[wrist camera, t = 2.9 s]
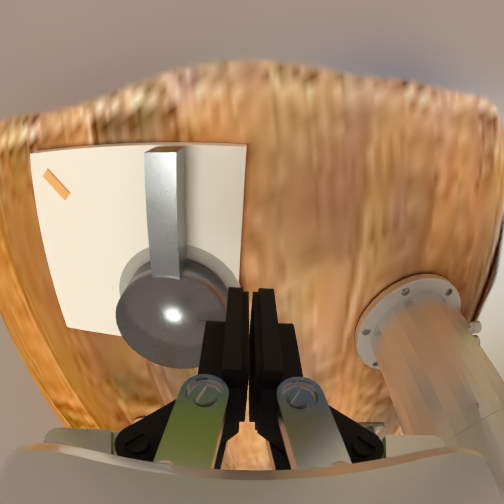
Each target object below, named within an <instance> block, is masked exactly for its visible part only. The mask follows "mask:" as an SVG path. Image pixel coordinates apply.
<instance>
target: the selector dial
mask: <svg viewBox="0 0 504 504" xmlns="http://www.w3.org/2000/svg"><path fill="white" fill-rule="evenodd" d="M144 169H145V195H146V213H147V227H148V240H149V251H150V261H149V262H147V263H145V264H144V265H142V266H141V267H140V268H139V269H138V270H137V271H136V272H135V274H134V275H133V277H132V279H131V280H130V282H129V284H128V285H127V287H126V289H125V291H124V292H123V294H122V296H121V297H120V299H119V301H118V304H117V306H116V323H117V326H118V329H119V331H120V333H121V335H122V337H123V338H124V340H125V341H126V342H127V344H128V345H129V346H130V347H131V348H132V349H133V350H135V351H136V352H137V353H138V354H140V355H141V356H143V357H144V358H146V359H148V360H150V361H152V362H154V363H156V364H159V365H162V366H166V367H171V368H179V369H189V368H196V367H199V363H200V356H201V349H202V343H203V336H204V330H205V324H206V320H211V321H226V311H227V299H228V289H227V288H226V286H225V284H224V283H223V281H222V280H221V279H220V278H219V277H218V276H217V274H215V273H214V272H213V271H212V270H211V269H209V268H208V267H206V266H205V265H203V264H201V263H199V262H196V261H194V260H191V259H187V256H186V221H185V146H157V147H154V148H152V149H150V150H148V151H146V152H144Z"/></svg>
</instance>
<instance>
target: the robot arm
mask: <svg viewBox="0 0 504 504" xmlns="http://www.w3.org/2000/svg"><path fill="white" fill-rule="evenodd" d="M460 312H461V299H460V295H459V293H458V291H457V289H456V288H455V287H454V285H453V284H452V283H451V282H450V281H449V280H447V279H446V278H444V277H443V276H439V275H436V274H420V275H414V276H411V277H408V278H405V279H403V280H401V281H399V282H397V283H395V284H393V285H391V286H390V287H389V288H387V289H386V290H384V291H383V292H382V293H381V294H379V295H378V296H377V297H376V298H375V299H374V300H373V301H372V302H371V303H370V305H369V306H368V307H367V308H366V309H365V311H364V313H363V314H362V316H361V318H360V319H359V322H358V324H357V327H356V331H355V337H354V339H355V347H356V350H357V353H358V355H359V357H360V359H361V360H362V361H363V362H364V363H365V364H366V365H367V366H369V367H371V368H373V369H377V370H381V373H382V376H383V378H384V381H385V383H386V386H387V389H388V391H389V394H390V397H391V400H392V402H393V405H394V408H395V411H396V414H397V416H398V419H399V422H400V425H401V428H402V431H403V434H404V435H385V436H384V437H378V436H377V435H376V434H375V433H373V432H372V431H370V430H368V429H367V428H365V427H363V426H361V425H360V424H358V423H356V422H355V421H353V420H352V419H350V418H348V417H347V416H345V415H343V414H342V413H340V412H339V411H337V410H335V409H334V408H332V407H331V406H329V405H328V403H327V400H326V398H325V395H324V393H323V390H322V389H321V387H320V386H319V385H318V384H317V383H316V382H315V381H313V380H311V379H309V378H305V377H303V374H302V368H301V363H300V357H299V351H298V346H297V340H296V335H295V329H294V325H293V324H284V323H278V319H277V311H276V303H275V295H274V289H265V288H259V290H258V292H253V297H252V310H251V322H250V334H249V292H245V291H243V288H242V287H228V299H227V311H226V321H211V320H206V324H205V330H204V336H203V343H202V349H201V356H200V363H199V370H198V375H195V376H192V377H190V378H188V379H187V380H186V381H185V382H184V383H183V385H182V386H181V389H180V391H179V394H178V397H177V399H176V400H174V401H172V402H170V403H169V404H167V405H165V406H164V407H162V408H160V409H158V410H157V411H155V412H153V413H151V414H150V415H148V416H146V417H144V418H143V419H141V420H139V421H137V422H135V423H134V424H132V425H130V426H128V427H126V428H125V429H123V430H122V431H121V432H112V430H111V429H78V428H54V429H52V430H51V431H49V432H48V433H47V435H46V436H45V439H44V443H38V444H29V445H24V446H21V447H18V448H16V449H14V450H13V451H12V452H11V453H10V454H9V455H8V456H7V457H6V459H5V460H4V462H3V463H2V465H1V467H0V504H504V382H503V380H502V378H501V377H500V376H499V374H498V372H497V371H496V369H495V367H494V366H493V364H492V363H491V361H490V360H489V358H488V357H487V355H486V354H485V352H484V351H483V349H482V348H481V346H480V339H479V337H478V336H477V335H472V334H473V333H479V332H480V331H481V323H480V322H479V321H471V322H467V320H466V319H465V318H464V316H463V315H462V314H461V313H460ZM248 380H249V422H255V430H257V433H259V434H260V435H261V436H262V437H264V438H265V439H266V446H267V450H268V454H269V458H270V463H271V467H272V470H265V471H250V470H222V467H223V463H224V458H225V454H226V450H227V445H228V440H229V439H230V438H232V437H233V436H234V435H236V434H237V433H238V432H239V422H244V421H245V411H246V401H247V391H248Z"/></svg>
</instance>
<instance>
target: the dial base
mask: <svg viewBox="0 0 504 504" xmlns="http://www.w3.org/2000/svg"><path fill="white" fill-rule="evenodd" d="M157 146H185V221H186V256H187V259H191V260H194V261H196V262H199V263H201V264H203V265H205V266H206V267H208V268H209V269H211V270H212V271H213V272H214V273H215V274H217V276H218V277H219V278H220V279H221V280H222V281H223V283H224V284H225V286H226V288H227V289H228V287H240V284H239V271H240V253H241V234H242V216H243V199H244V182H245V166H246V150H247V144H234V143H207V142H145V143H119V144H101V145H88V146H76V147H65V148H56V149H47V150H40V151H37V152H34V153H31V154H30V159H31V170H32V179H33V187H34V194H35V201H36V207H37V213H38V219H39V224H40V229H41V234H42V239H43V244H44V248H45V252H46V257H47V261H48V265H49V269H50V272H51V276H52V280H53V283H54V287H55V290H56V294H57V297H58V300H59V304H60V307H61V310H62V313H63V316H64V319H65V322H66V325H67V327H71V328H76V329H82V330H87V331H93V332H99V333H105V334H112V335H118V336H122V335H121V333H120V331H119V329H118V326H117V323H116V306H117V304H118V301H119V299H120V297H121V296H122V294H123V292H124V291H125V289H126V287H127V285H128V284H129V282H130V280H131V279H132V277H133V275H134V274H135V272H136V271H137V270H138V269H139V268H140V267H141V266H142V265H144V264H145V263H147V262H149V261H150V251H149V240H148V227H147V213H146V195H145V169H144V152H146V151H148V150H150V149H152V148H154V147H157Z"/></svg>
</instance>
